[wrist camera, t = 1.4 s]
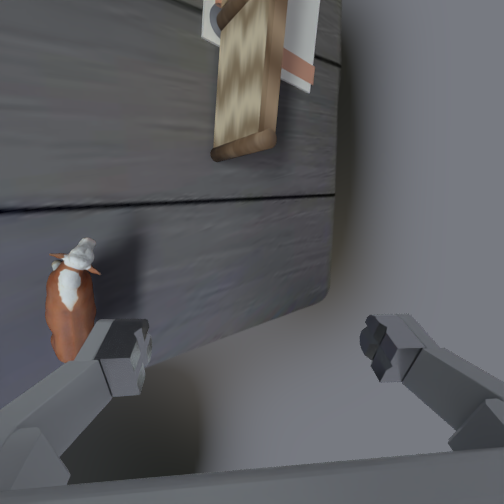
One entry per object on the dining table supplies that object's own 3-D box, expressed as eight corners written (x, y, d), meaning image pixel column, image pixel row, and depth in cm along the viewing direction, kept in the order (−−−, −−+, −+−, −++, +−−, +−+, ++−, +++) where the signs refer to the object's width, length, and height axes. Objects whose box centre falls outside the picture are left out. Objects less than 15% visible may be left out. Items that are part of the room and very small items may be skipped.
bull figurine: (97, 232, 31) (104, 241, 24) (90, 337, 32) (96, 372, 26) (51, 229, 28) (45, 238, 22) (46, 343, 30) (40, 384, 23)
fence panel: (218, 30, 34) (277, -38, 25) (230, 37, 36) (292, -25, 26) (210, 160, 37) (261, 146, 27) (222, 163, 38) (275, 150, 28)
